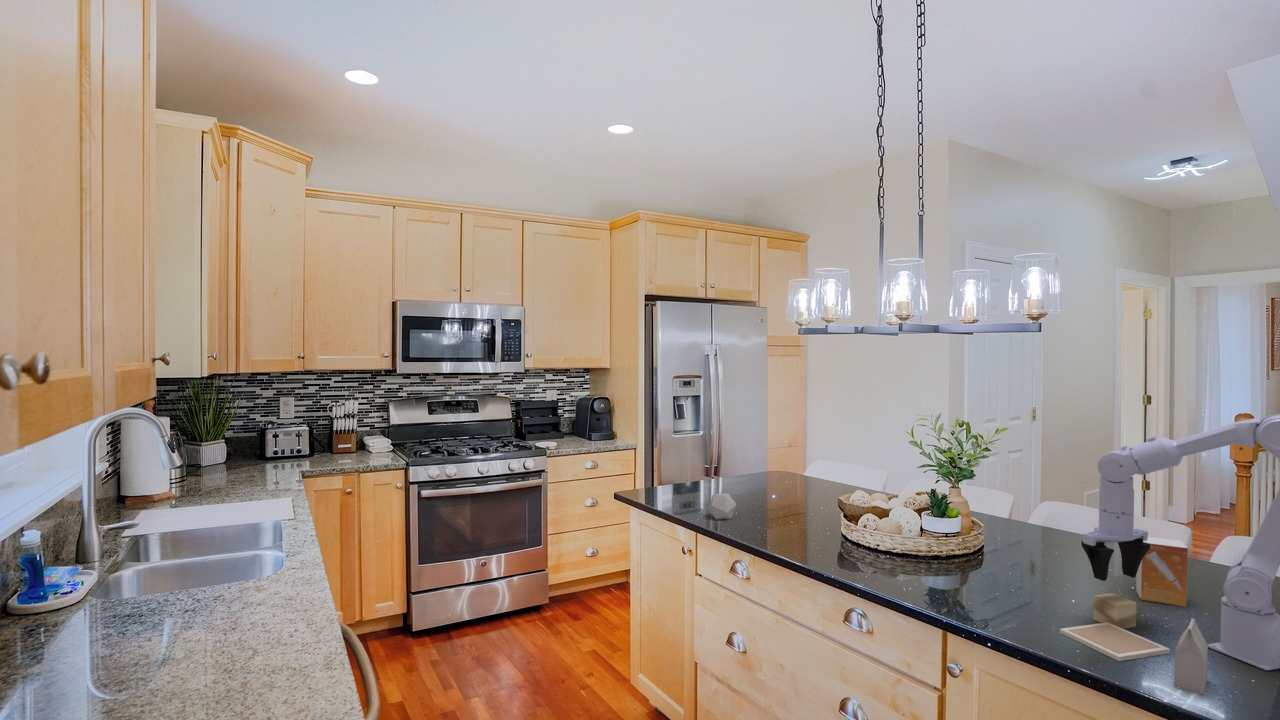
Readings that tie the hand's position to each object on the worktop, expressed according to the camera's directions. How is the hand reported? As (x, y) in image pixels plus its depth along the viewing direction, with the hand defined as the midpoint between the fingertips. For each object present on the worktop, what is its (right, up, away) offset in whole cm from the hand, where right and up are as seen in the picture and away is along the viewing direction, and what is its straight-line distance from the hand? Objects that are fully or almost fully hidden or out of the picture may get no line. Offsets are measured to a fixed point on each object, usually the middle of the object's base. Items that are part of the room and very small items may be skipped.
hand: (1114, 577), depth 133 cm
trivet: (-7, -9, -9) cm, 15 cm away
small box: (+19, -9, +13) cm, 25 cm away
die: (-70, -8, +81) cm, 107 cm away
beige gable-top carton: (-5, -10, -24) cm, 26 cm away
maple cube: (0, -9, 0) cm, 9 cm away
